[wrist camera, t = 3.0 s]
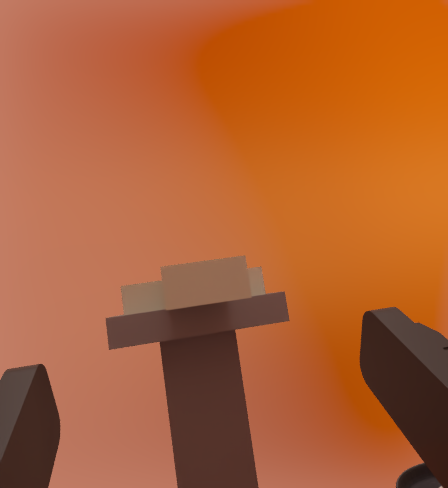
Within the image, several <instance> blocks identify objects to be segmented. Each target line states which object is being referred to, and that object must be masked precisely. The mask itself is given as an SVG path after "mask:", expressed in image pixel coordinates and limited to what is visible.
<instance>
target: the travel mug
mask: <svg viewBox="0 0 448 488" xmlns="http://www.w3.org/2000/svg"><path fill="white" fill-rule="evenodd" d="M396 488H443V487H442V486H441V484H440V483H439V482H438V480H437V479H436V478H435V476H434V475H433V473H432V472H431V471H430V469H429V468H428V467H427V465H426V464H425V463H422V464H418V465H416V466H413V467H411V468H409V469H407V470H406V471H404V472H403V473H402V474H401V475H400V476H399V478H398V480H397V483H396Z"/></svg>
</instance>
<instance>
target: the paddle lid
mask: <svg viewBox="0 0 448 488" xmlns="http://www.w3.org/2000/svg"><path fill="white" fill-rule="evenodd" d="M161 275H162V281H155V282H148V283H141V284H133V285H126V286H121V292H122V300H123V310H124V315H130V314H136V313H143V312H150V311H157V310H163V309H166V310H172V309H179V308H186V307H192V306H199V305H206V304H212V303H219V302H226V301H232V300H239V299H246V298H252V297H251V296H257V295H264V294H265V287H264V281H263V275H262V269H261V267H256V268H249V269H247V264H246V258H245V256H238V257H231V258H223V259H216V260H209V261H201V262H193V263H186V264H178V265H171V266H164V267H161Z"/></svg>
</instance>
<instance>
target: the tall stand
mask: <svg viewBox="0 0 448 488" xmlns="http://www.w3.org/2000/svg"><path fill="white" fill-rule="evenodd" d="M251 297H252V298H246V299H239V300H232V301H226V302H219V303H212V304H206V305H199V306H192V307H186V308H179V309H172V310H166V309H163V310H157V311H150V312H143V313H136V314H130V315H120V316H115V317H110V318H106V326H107V335H108V344H109V350H111V349H117V348H123V347H129V346H135V345H141V344H147V343H154V342H160V347H161V356H162V364H163V372H164V380H165V388H166V396H167V405H168V413H169V420H170V428H171V437H172V445H173V453H174V461H175V469H176V477H177V485H178V488H258V482H257V475H256V468H255V462H254V455H253V448H252V441H251V434H250V428H249V421H248V414H247V408H246V401H245V394H244V387H243V381H242V374H241V367H240V360H239V353H238V346H237V340H236V333H235V329H241V328H247V327H254V326H259V325H266V324H273V323H279V322H285V321H289V315H288V309H287V303H286V297H285V292H277V293H269V294H264V295H257V296H251Z"/></svg>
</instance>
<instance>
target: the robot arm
mask: <svg viewBox="0 0 448 488" xmlns="http://www.w3.org/2000/svg"><path fill="white" fill-rule="evenodd" d="M360 368H361V372H362V375H363V378H364V380H365V382H366V384H367V385H368V387H369V388H370V389H371V391H372V392H373V393H374V395H375V396H376V397H377V399H378V400H379V401H380V403H381V404H382V406H383V407H384V408H385V410H386V411H387V412H388V414H389V415H390V416H391V418H392V419H393V420H394V422H395V423H396V425H397V426H398V427H399V428H400V430H401V431H402V433H403V434H404V435H405V437H406V438H407V440H408V441H409V442H410V444H411V445H412V446H413V448H414V449H415V450H416V452H417V453H418V454H419V456H420V457H421V459H422V460H423V461H424V463H425V464H426V465H427V467H428V468H429V469H430V471H431V472H432V473H433V475H434V476H435V478H436V479H437V480H438V482H439V483H440V484H441V486H442V487H443V488H448V340H447V339H446V338H445V337H444V336H443V335H441V334H440V333H439V332H437V331H435V330H433V329H431V328H429V327H427V326H425V325H422V324H420V323H414V322H413V321H411V320H410V319H409V318H408V317H407V316H406V315H405V314H403V313H402V312H401V311H400V310H399V309H398V308H396V307H390V308H385V309H378V310H371V311H367V312H365V313H364V315H363V320H362V335H361V349H360ZM59 439H60V419H59V413H58V410H57V406H56V403H55V399H54V396H53V392H52V389H51V385H50V381H49V378H48V374H47V371H46V368H45V367H44V365H43V364H37V365H31V366H25V367H19V368H12V369H7V370H6V371H5V372H4V374H3V376H2V378H1V380H0V488H48V486H49V482H50V477H51V474H52V469H53V465H54V461H55V457H56V453H57V449H58V445H59Z"/></svg>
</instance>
